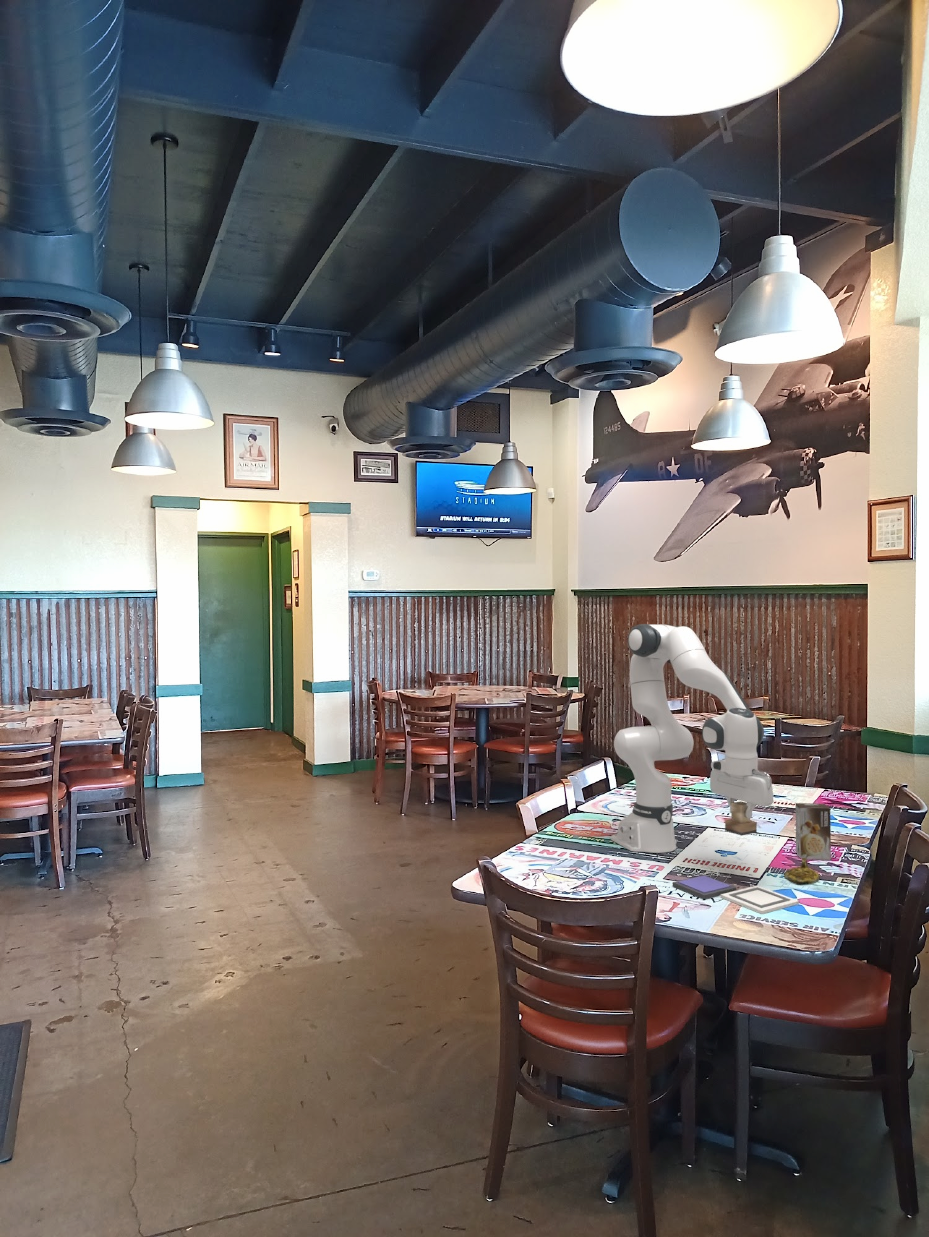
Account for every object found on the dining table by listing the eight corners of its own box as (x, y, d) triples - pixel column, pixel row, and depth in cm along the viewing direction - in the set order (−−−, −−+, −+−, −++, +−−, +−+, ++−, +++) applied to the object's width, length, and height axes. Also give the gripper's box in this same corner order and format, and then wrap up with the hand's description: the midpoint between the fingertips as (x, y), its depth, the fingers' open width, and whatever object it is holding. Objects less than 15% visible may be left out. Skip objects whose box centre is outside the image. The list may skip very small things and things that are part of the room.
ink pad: (672, 886, 243) (672, 881, 243) (704, 879, 249) (704, 874, 249) (704, 899, 233) (704, 894, 233) (736, 891, 239) (736, 886, 239)
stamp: (725, 830, 247) (725, 802, 247) (740, 827, 250) (740, 799, 250) (741, 835, 242) (741, 807, 242) (756, 832, 245) (756, 804, 245)
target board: (720, 897, 234) (720, 893, 234) (757, 888, 241) (757, 884, 241) (761, 914, 222) (762, 910, 222) (799, 904, 229) (799, 900, 229)
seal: (817, 892, 242) (820, 875, 255) (819, 875, 241) (822, 860, 255) (781, 883, 246) (786, 867, 259) (784, 867, 245) (788, 852, 259)
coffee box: (825, 854, 272) (826, 803, 271) (831, 860, 265) (831, 808, 265) (794, 853, 273) (795, 802, 272) (799, 859, 267) (800, 807, 266)
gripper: (778, 772, 238) (778, 822, 239) (722, 759, 256) (721, 806, 256) (762, 774, 235) (762, 825, 235) (706, 761, 253) (706, 809, 253)
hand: (740, 815), depth 246 cm, fingers closed on stamp, 4 cm apart
